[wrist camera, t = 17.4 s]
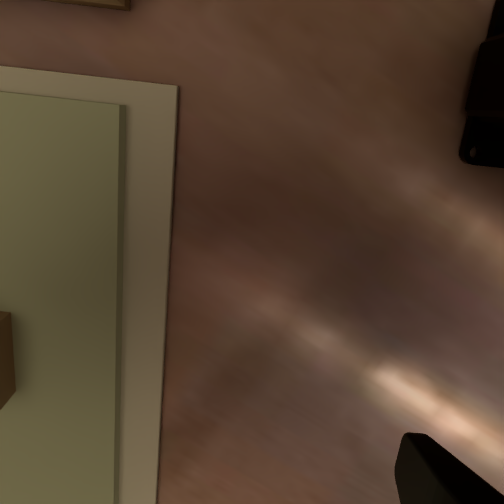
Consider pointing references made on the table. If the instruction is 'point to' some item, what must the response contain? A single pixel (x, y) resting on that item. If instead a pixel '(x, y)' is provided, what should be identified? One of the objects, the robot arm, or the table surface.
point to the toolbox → (99, 3)
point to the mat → (133, 254)
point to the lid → (60, 298)
